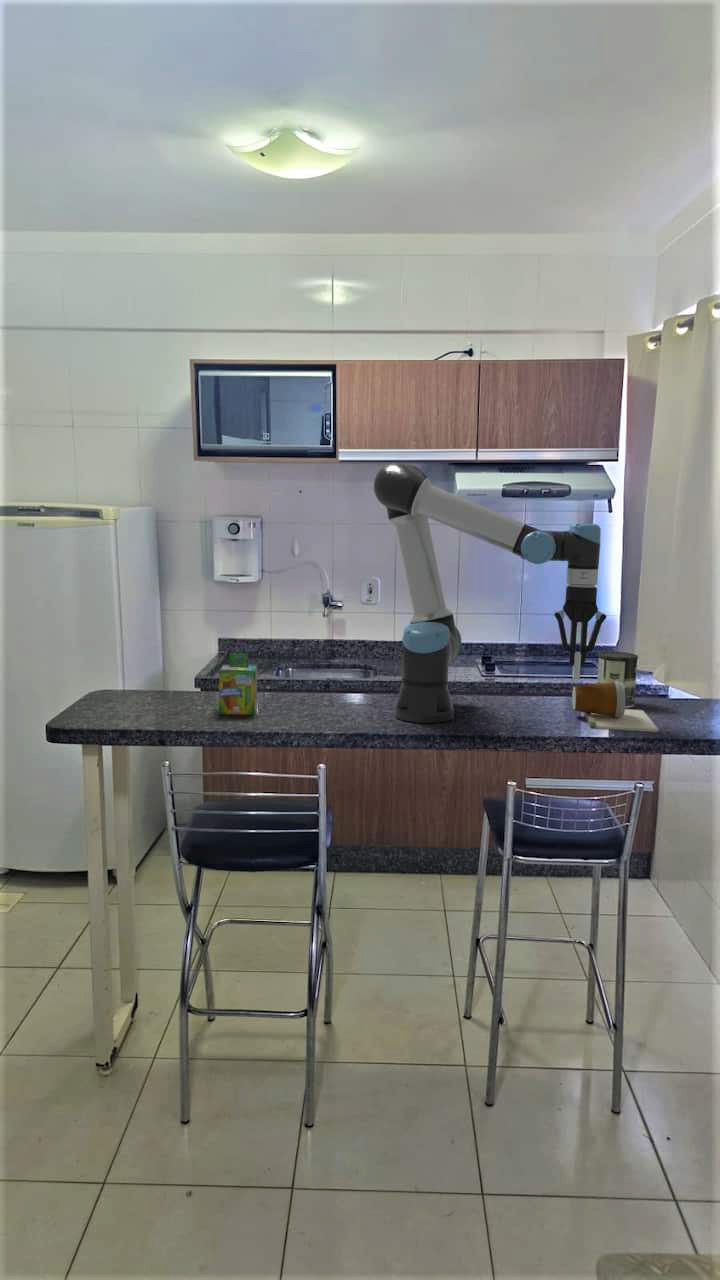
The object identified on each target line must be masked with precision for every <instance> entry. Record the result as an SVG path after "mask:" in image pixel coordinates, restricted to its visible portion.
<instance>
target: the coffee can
mask: <svg viewBox="0 0 720 1280" xmlns="http://www.w3.org/2000/svg"><path fill="white" fill-rule="evenodd" d="M638 658H639V655H637V654H635V653H633V652H632V653H631V652H623V651H601V652H599V653H598V666H597V667H598V668H597V670H598V671H597V682H596V684H602V683H612V682H615V681H618V682H622V683H623V684H624V688H625V709H631V708H635V696H636V695H635V694H636V693H635V692H636V680H637V679H636V678H637V669H638V668H637V667H638Z"/></svg>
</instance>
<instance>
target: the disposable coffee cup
mask: <svg viewBox="0 0 720 1280" xmlns="http://www.w3.org/2000/svg"><path fill="white" fill-rule="evenodd" d="M571 695H572V696H571V697H572V698H571V700H572V701H571V703H572V710H573V711H574V712H580V713H583V712H587V713H594V714H601V715H609V716H613V717H616V718H618V717H621V716H623V715H624V712H625V709H626V708H625V688H624V684H623V683H622V682H618V681H615V682H612V683H602V684H597V683H594V684H586V685H585V684H584V685H583V684H582V685H573V687H572V694H571Z"/></svg>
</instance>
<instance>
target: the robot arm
mask: <svg viewBox="0 0 720 1280" xmlns="http://www.w3.org/2000/svg"><path fill="white" fill-rule="evenodd" d="M431 483H432V482H431V481H430V479H429V478H428V476H427V475H426V474H425V472H424V471H423V470H422V469H420V468H419V467H417V466H414V465H411V464H405V463H403V462H392V463H389V464H387V465H384V466H383V467H382V468H380V469H379V471H378V472H377V474H376V476H375V477H374V481H373V490H374V491H373V492H374V496H375V497H376V499H377V500H378V502H379V503H380V504H381V505H382V506H384V507H385V508H386V513H387V517H388V521H389V522H390V523H392V524H393V525H395V527H396V531H397V537H398V541H399V547H400V552H401V557H402V560H403V561H402V562H403V565H404V567H403V568H404V569H405V570H404V571H405V576H406V580H407V586H408V590H409V594H410V595H409V596H410V600H411V605H412V610H413V615H412V617H411V619H410V620H409V623H410V624H409V625H407V626H406V627H405V628H404V630H403V635H402V639H401V640H402V660H401V662H402V665H401V687H400V689H399V693H398V696H397V698H396V701H395V703H394V706H393V707H394V708H393V710H394V711H393V716H394V717H395V718H397V719H399V720H402V721H405V722H409V723H411V722H412V723H417V724H418V723H419V724H421V723H422V724H439V723H445V722H449V721H451V720H453V718H454V714H455V713H454V712H455V711H454V708H455V707H454V705H453V702H452V698H451V695H450V691H449V685H448V684H449V664H451V663H452V662H454V660H455V659H456V658H457V656H458V655H459V653H460V650H461V648H462V647H461V646H462V636H461V633H460V631H459V629H458V627H457V626H456V624H455V618H454V613H453V612H452V611H451V610H449V609H448V608H447V607H446V602H445V598H444V593H443V587H442V581H441V578H440V572H439V568H438V563H437V558H436V553H435V549H434V543H433V538H432V534H431V528H430V523H429V519H431V520H433V521H436V522H438V523H440V524H443V525H445V526H447V527H450V528H453V529H454V530H458V531H459V532H462V533H465V534H466V535H469V536H471V537H474V538H476V539H478V540H480V541H484V542H486V543H488V544H490V545H493V546H495V547H497V548H500V549H502V550H504V551H507V552H510V553H512V554H514V555H516V556H519V557H520V558H521V559H522V560H526V561H527V562H529V563H532V564H535V565H541V564H542V565H543V564H545V563H548V562H552V561H553V562H567V568H566V569H567V570H566V583H567V585H566V587H565V589H566V590H565V601H564V604H563V606H562V608H561V609H560V610H558V611H555V612H554V613H553V615H554V618H555V619H556V620H557V624H558V630H559V636H560V640H561V645H562V648H563V650H564V651H567V652H568V653H569V656H568V657H569V659H568V663H569V665H570V666H572V679H574V680H575V679H576V680H580V678H581V677H580V675H581V666H582V667H583V666H585V665H586V654H587V653H588V652H593V651H594V648H595V647H596V642H597V640H598V636H599V634H600V631H601V627H602V624H603V623H604V622H605V620H606V619H607V615H606V613H603V612H601V611H600V610H599V607H598V605H597V600H598V599H597V597H598V596H597V595H598V587H597V585H598V584H599V583H598V582H599V581H598V580H599V565H600V552H601V535H602V534H601V526H600V525H599V524H596V523H571V524H570V526H569V529H568V530H566V531H564V530H563V531H561V530H560V531H558V530H541V529H538V528H536V527H534V526H531V525H530V524H526V523H524V522H522V521H519V520H516V519H515V518H512V517H510V516H507V515H505V514H502V513H500V512H498V511H495V510H493V509H490V508H488V507H485V506H483V505H481V504H478V503H476V502H473V501H471V500H468V499H466V498H464V497H462V496H458V495H456V494H454V493H451V492H449V491H448V490H445V489H442V488H440V487H438V486H435V485H433V484H431ZM565 615H566V617H567V618H568V619H569V621H570V635H569V636H570V638H569V644H568V639H567V633H566V628H565V622H564V618H565ZM594 616H595V617H594ZM593 618H595V622H594V625H593V628H592V632H591V634H590V637H589V640H587V639H588V627H589V622H590V621H591V620H592V619H593ZM578 623H580V624H581V626H580V627H581V629H580V643H579V651H576V647H577V634H578V633H577V632H578ZM587 641H588V642H587ZM587 643H588V644H587Z"/></svg>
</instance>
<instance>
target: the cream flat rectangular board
mask: <svg viewBox="0 0 720 1280" xmlns="http://www.w3.org/2000/svg"><path fill="white" fill-rule="evenodd" d="M582 714H583V716H584V718H585V720H586V722H587V724H588V726H589V728H590V729H600V730H601V729H602V730H618V731H632V732H633V731H634V732H651V733H659V732H660V731H659V730H660V729H659V728H658V727H657V726H656V725H655V723H654V721H652V719H651V718H650V717H649V715H647V714H646V712H645V711H644V710H643V709H630V708H625V712H624V715H623V716H621V717H618V718H616V717H613V716H609V715H601V714H594V713H587V712H582Z"/></svg>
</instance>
